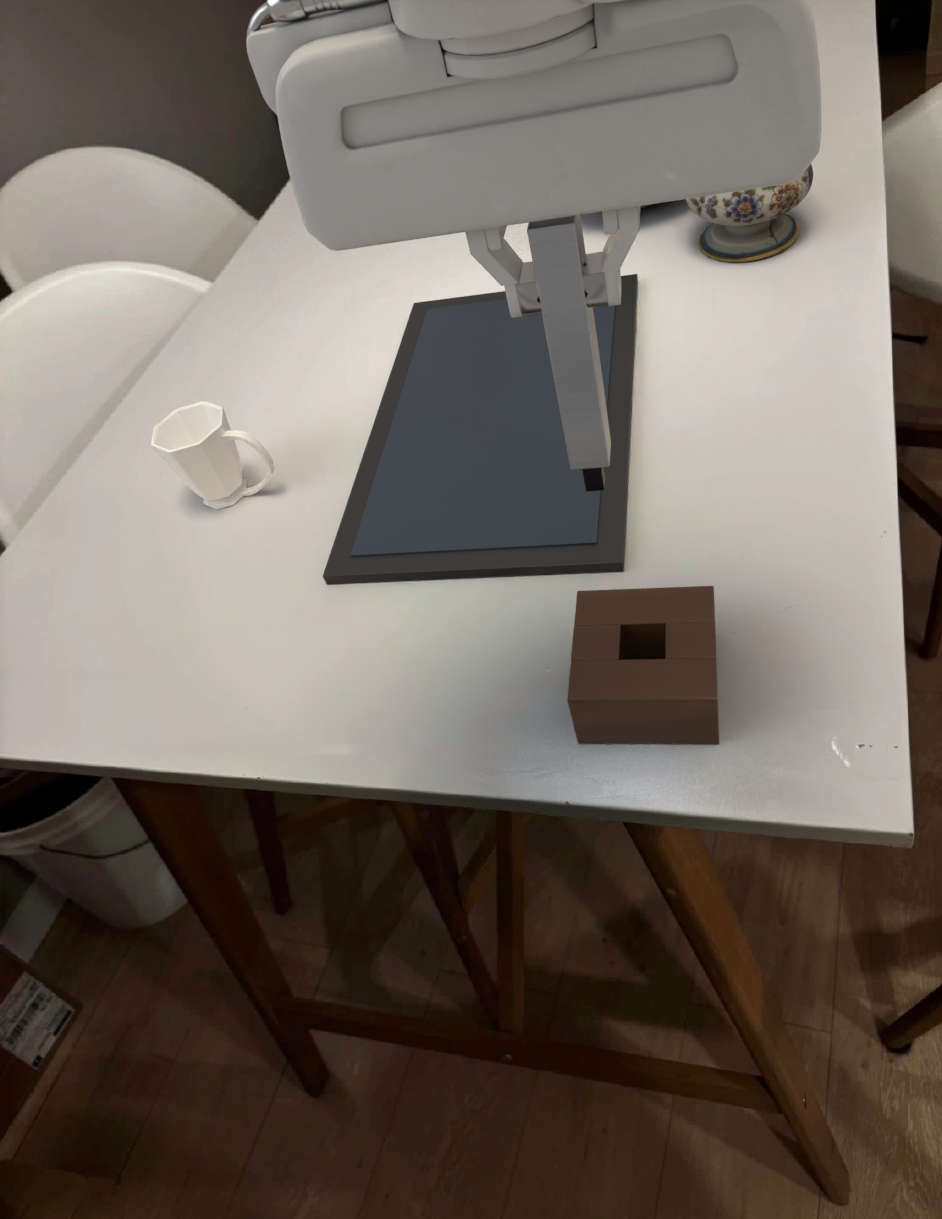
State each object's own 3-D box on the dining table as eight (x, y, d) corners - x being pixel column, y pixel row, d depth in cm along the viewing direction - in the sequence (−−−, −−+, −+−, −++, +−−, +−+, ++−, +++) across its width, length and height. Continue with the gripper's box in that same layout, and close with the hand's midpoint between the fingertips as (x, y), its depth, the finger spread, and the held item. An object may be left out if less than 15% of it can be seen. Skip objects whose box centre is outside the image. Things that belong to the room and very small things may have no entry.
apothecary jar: (814, 203, 93) (826, 8, 80) (804, 266, 86) (816, 63, 73) (696, 212, 98) (689, 28, 84) (678, 271, 91) (668, 81, 77)
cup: (209, 468, 87) (170, 401, 81) (300, 467, 84) (266, 397, 78) (178, 519, 83) (135, 452, 77) (272, 520, 79) (235, 450, 73)
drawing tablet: (623, 571, 66) (622, 560, 65) (326, 584, 72) (321, 574, 72) (638, 282, 91) (637, 271, 90) (416, 310, 97) (413, 300, 97)
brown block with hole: (719, 744, 55) (717, 699, 51) (577, 744, 57) (566, 700, 54) (715, 633, 61) (713, 585, 57) (586, 636, 63) (577, 590, 59)
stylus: (613, 496, 47) (575, 222, 36) (575, 499, 47) (526, 229, 36) (615, 471, 48) (578, 198, 37) (578, 474, 48) (531, 205, 37)
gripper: (198, 28, 30) (334, 371, 40) (847, -122, 25) (815, 317, 35) (253, -31, 34) (364, 295, 44) (823, -170, 29) (801, 236, 39)
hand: (567, 304), depth 40 cm, fingers closed on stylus, 2 cm apart
